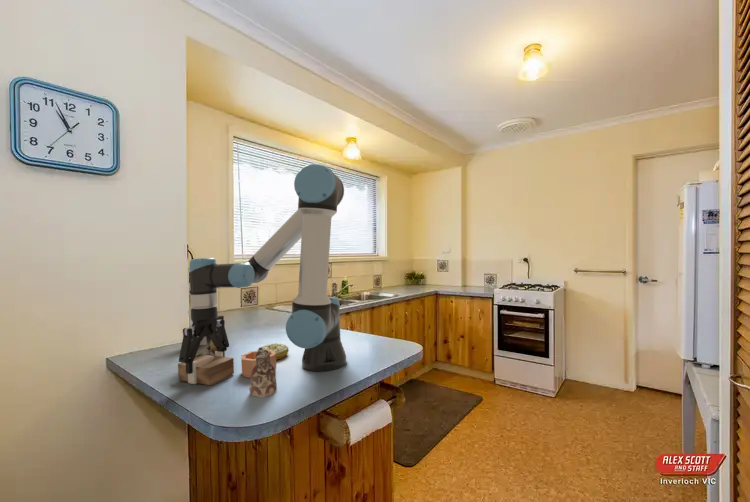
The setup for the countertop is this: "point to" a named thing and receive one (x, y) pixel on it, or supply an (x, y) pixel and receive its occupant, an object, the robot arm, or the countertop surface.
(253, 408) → the countertop surface
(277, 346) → the decorated donut
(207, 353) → the coffee box
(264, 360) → the figurine
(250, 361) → the bowl
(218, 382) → the mat
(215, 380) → the brown wooden block
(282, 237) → the robot arm
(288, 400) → the countertop surface
